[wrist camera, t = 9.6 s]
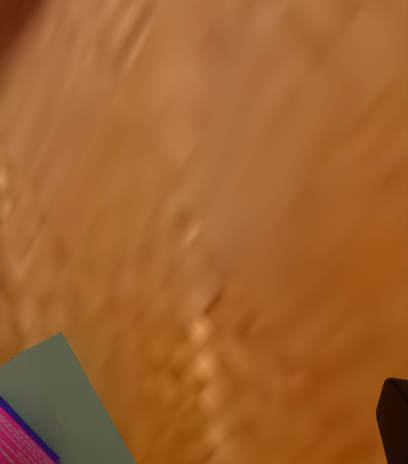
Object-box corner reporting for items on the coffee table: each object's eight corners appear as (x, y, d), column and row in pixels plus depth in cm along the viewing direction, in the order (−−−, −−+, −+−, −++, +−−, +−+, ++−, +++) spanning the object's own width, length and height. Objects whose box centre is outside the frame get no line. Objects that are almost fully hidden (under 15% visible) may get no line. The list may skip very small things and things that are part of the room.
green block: (139, 458, 24) (105, 506, 20) (42, 503, 27) (-4, 553, 23) (66, 329, 25) (21, 352, 21) (-20, 387, 28) (-73, 416, 24)
